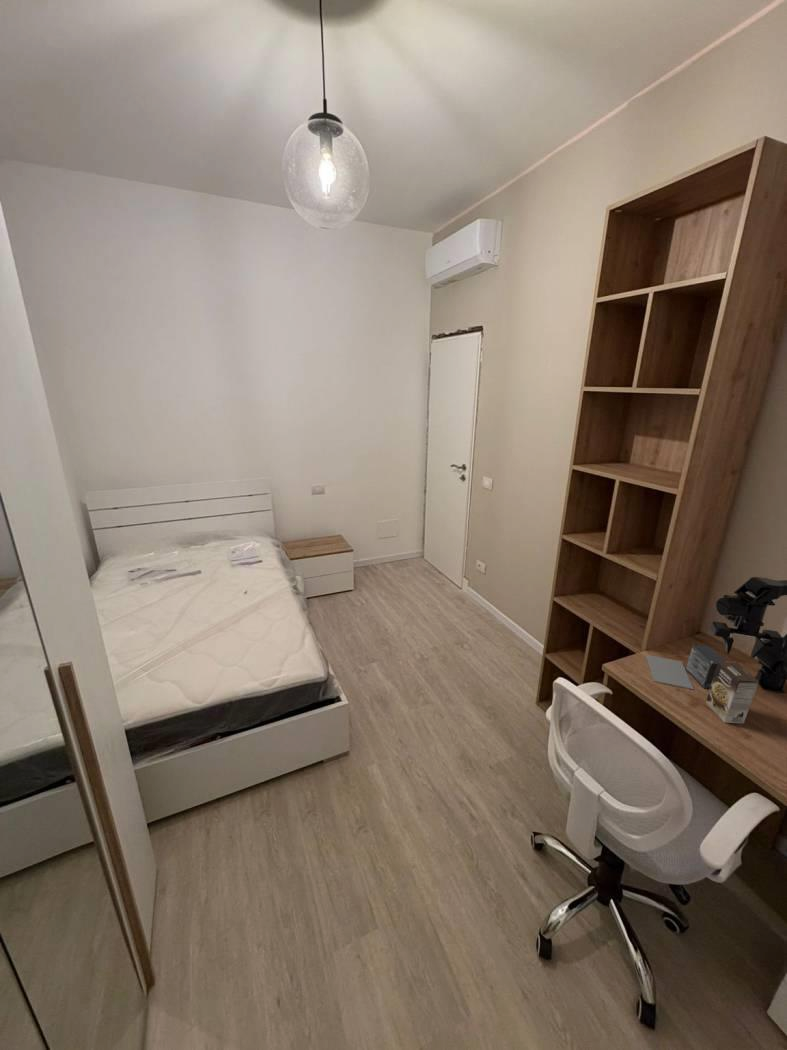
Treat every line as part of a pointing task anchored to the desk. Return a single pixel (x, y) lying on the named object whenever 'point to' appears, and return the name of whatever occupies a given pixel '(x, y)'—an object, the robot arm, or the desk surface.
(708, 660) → the small box
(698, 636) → the desk surface
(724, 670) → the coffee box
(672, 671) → the mat
